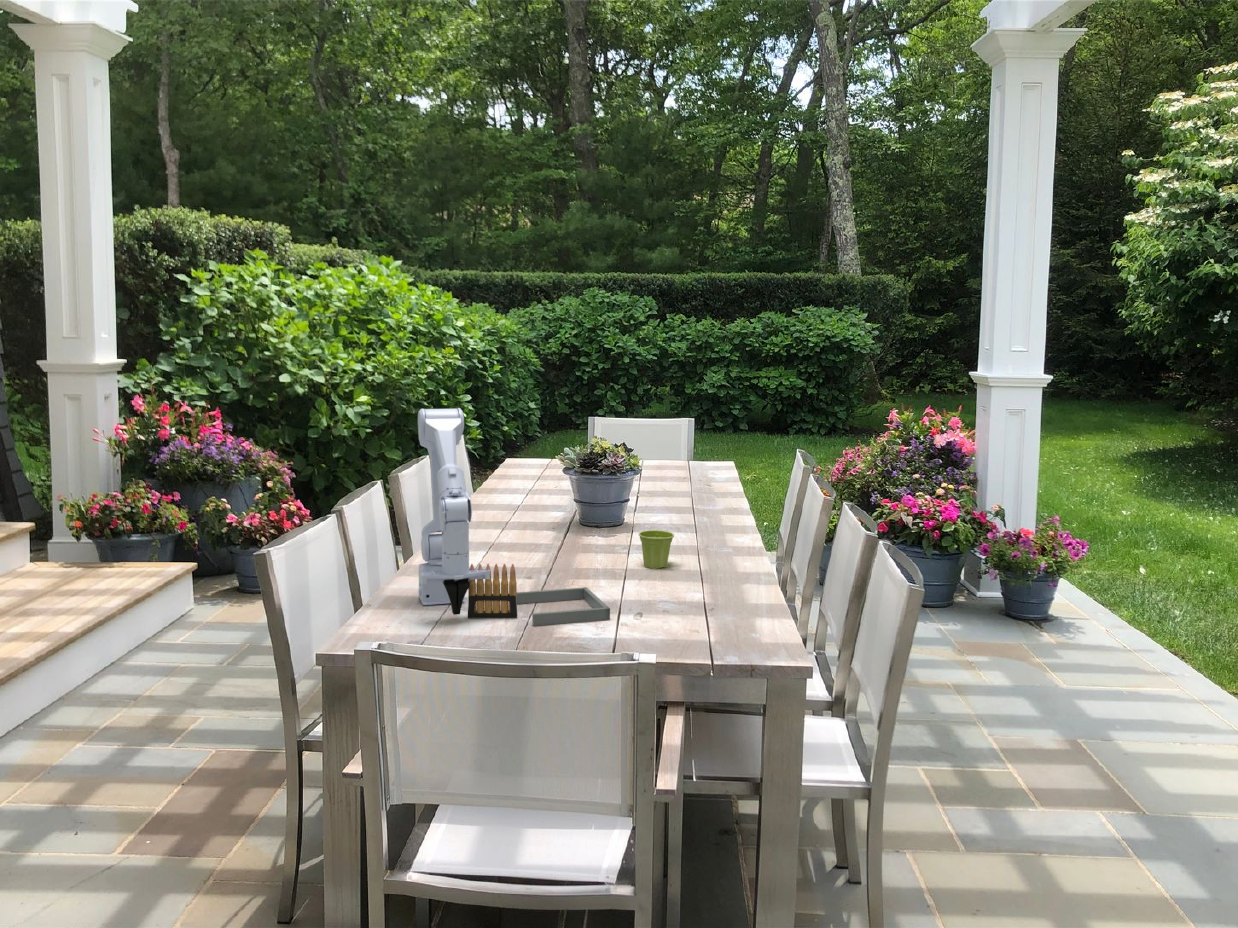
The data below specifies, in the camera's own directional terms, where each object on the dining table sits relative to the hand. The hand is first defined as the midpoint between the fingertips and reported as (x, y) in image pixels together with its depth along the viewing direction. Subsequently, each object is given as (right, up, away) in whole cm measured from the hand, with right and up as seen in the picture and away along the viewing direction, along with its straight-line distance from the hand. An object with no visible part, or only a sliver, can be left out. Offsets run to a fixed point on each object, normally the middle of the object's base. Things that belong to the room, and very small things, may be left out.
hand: (456, 613), depth 223 cm
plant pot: (+45, +5, +49) cm, 67 cm away
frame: (+22, -1, +7) cm, 23 cm away
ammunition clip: (+8, -1, +3) cm, 8 cm away
